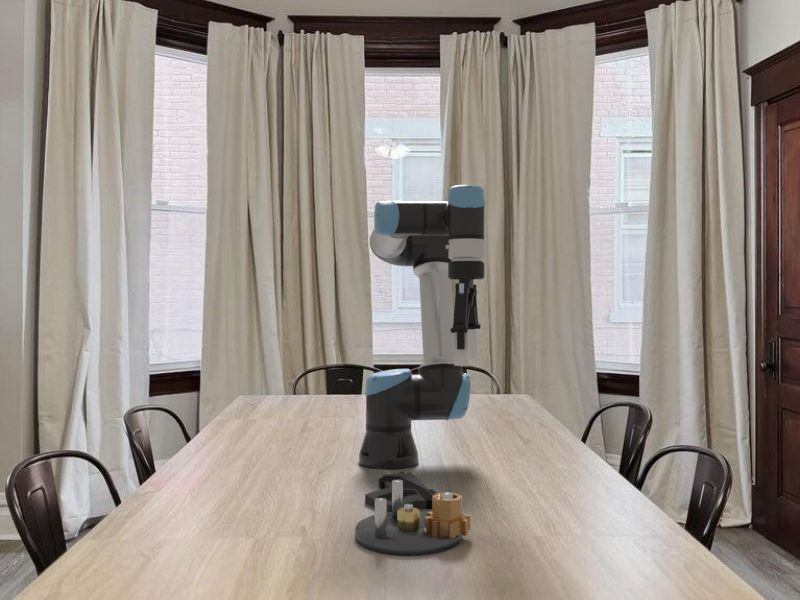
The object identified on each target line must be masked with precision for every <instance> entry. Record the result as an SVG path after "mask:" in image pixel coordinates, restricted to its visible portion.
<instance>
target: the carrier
mask: <svg viewBox="0 0 800 600" xmlns="http://www.w3.org/2000/svg"><path fill="white" fill-rule="evenodd" d="M441 493H442V492H441ZM453 493H454V492H450V491H443V493H442V499H449V500H450V499H453ZM420 510H421V509H417V508H413V505H412V504H405V505H404V508H403V481H402V480H393V481H392V512H387V500H386V499H385V498H376V499H375V508H374V514H372V515H369V516H368V517H365V518H363V519H361V520H359V521H358V523H357V524H356V525H355V529H354V530H355V531H354V538H355V542H357V544H358V545H360V546H361V547H362V548H365V549H366V550H369V551H371V552H375V553H379V554H384V555H389V556H391V555H392V556H403V557H404V556H406V557H413V556H414V557H415V556H425V555H426V556H429V555H433V554H438V553H442V552H445V551H448V550H451V549H453V548H454V547H457V545H459V544H460V543H461V541H462V540H463V535H457V536H456V538H449V537H448V536H439V537H433V533H431V532H429V533H426V532H425V517H427V513H428V512H429V511H422V510H421V511H420Z"/></svg>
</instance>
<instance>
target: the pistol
mask: <svg viewBox="0 0 800 600" xmlns="http://www.w3.org/2000/svg"><path fill="white" fill-rule="evenodd" d="M393 480H402V481H403V508H404V505H405V504H412V505H413V508H417V509H419V510H425V511H426V510H432V497H433V495H434V494H437V493H438V491H436V490H435V489H432V488H431V489H430V488H429V487H428V486H427V485H425V484H424V482H422V481H421V480H420V479H419V478H418V477H417V476H416V475H415V474H414V473H412V472H405V471H400V472H398V473H384V474H382V477H379V478H378V487H379V489H378V490H375V491H372V492H367V493H365V494H364V504H366V505H367V506H370V507H372V508H373V509H375V499H376V498H385V499H386V500H387V512H392V481H393Z"/></svg>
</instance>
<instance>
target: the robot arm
mask: <svg viewBox="0 0 800 600" xmlns="http://www.w3.org/2000/svg"><path fill="white" fill-rule="evenodd" d="M485 206H486V201H485V191H484V188H483V187H481V186H479V185H474V184H462V185H461V184H459V185H454V186H451V187H450V188H449V189H448V194H447V200H446V201H411V200H410V201H409V200H408V201H407V200H406V201H404V200H393V199H392V200H391V199H390V200H385V201H384V200H381V201H380V200H379V201H376V203H375V205H374V211H373V212H374V213H373V214H374V217H373V224H374V229H373V230H372V232H371V235H370V237H369V246H370V249H371V252H372V253H373V254H374V255H375V257H377V258H378V259H379V260H381V261H383V262H385V263H387V264H390V265H393V266H399V267H412V270H413V271H412V272H413V274H414V276H416V277H417V278H418V281H419V296H420V297H419V299H420V300H419V301H420V312H421V313H420V314H421V315H420V317H421V320H420V321H421V337H422V338H421V339H422V358H423V359H422V360H423V362H422V363H421V365H420V366H419V367H418V368H417V374H413V372H412V371H411V369H409V368H396V369H389V370H387V369H386V370H381V371H377V372H374V373H371V374H370V375H368V376H367V378H366V382H365V391H364V395H365V433H364V437H363V440H362V443H361V446H360V449H359V453H358V463H359V464H360V465H362V466H365V467H367V468H373V469H389V470H390V469H403V468H409V467H412V466H415V465H417V464H418V463H419V451H418V449H417V444H416V442H415V439H414V436H413V432H412V421H441V420H442V421H443V420H445V421H449V420H460V419H462V418H464V417H465V416H466V414H467V412H468V409H469V406H470V405H469V404H470V398H471V386H472V385H471V379H470V378H471V377H470V374H468V373H465V372H464V371H463V370H464V369H463V367H469V366H470V365H469V360H476V361H477V360H478V330H481V327H482V326H481V324H479V323H480V322H479V315H478V301H477V299H478V298H477V295H478V291H477V283H474V280H483V279H484V278H485V263H484V261H483V260H482V259H485V256H486V254H485V253H486V250H485V249H486V248H485V245H486V244H485V239H486V238H485ZM452 280H458V282H457V283H455V285H454V288H455V292H454V293H455V295H454V305H453V296H452V295H453V294H452V291H453V290H452Z"/></svg>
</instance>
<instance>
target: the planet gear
mask: <svg viewBox="0 0 800 600" xmlns="http://www.w3.org/2000/svg"><path fill="white" fill-rule="evenodd" d="M443 492H444V491H443ZM443 492H437V494H434V495H433V497H432V509H431V511H427V512H428V513H427V517H425V532H426V533H429V532H431V533H433V537H439V536H448V537H449V538H456V536H457V535H462V536H465V537H466V536H468V535H470V534H469V533H470V532H469V531H471V515H470V514H469V513H465V514H463V495H462V494H459V493H456V492H452V493H453V499H450V500H449V499H442V493H443Z"/></svg>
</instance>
